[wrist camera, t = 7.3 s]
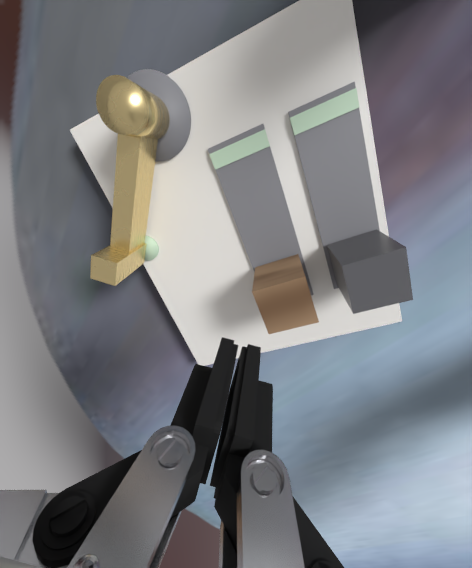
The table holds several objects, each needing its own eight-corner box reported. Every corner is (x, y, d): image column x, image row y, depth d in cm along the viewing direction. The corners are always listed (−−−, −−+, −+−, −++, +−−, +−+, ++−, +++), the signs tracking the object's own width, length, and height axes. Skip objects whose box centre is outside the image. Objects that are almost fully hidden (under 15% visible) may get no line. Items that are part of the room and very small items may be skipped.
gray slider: (384, 272, 22) (412, 299, 18) (337, 285, 23) (353, 313, 19) (376, 229, 21) (405, 247, 17) (327, 244, 22) (341, 265, 18)
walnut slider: (309, 292, 24) (319, 322, 20) (268, 303, 25) (268, 334, 21) (298, 253, 23) (305, 276, 18) (255, 267, 24) (251, 291, 19)
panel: (393, 310, 27) (404, 323, 25) (203, 355, 32) (198, 369, 30) (336, -27, 17) (346, -54, 15) (78, 120, 22) (58, 115, 20)
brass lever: (149, 264, 25) (121, 287, 20) (119, 255, 25) (84, 276, 20) (172, 100, 19) (140, 80, 14) (133, 87, 19) (88, 63, 14)
